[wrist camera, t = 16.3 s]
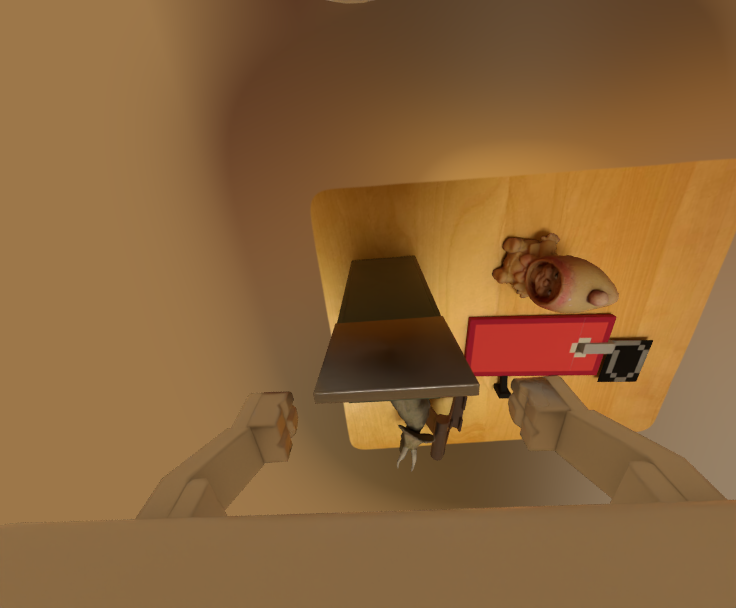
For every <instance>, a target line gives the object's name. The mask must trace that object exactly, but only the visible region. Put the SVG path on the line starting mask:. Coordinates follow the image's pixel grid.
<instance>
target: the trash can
mask: <svg viewBox="0 0 736 608" xmlns="http://www.w3.org/2000/svg"><path fill="white" fill-rule="evenodd" d="M437 316H441V315H440V312H439V310H438V308H437V305H436V303H435V301H434V298H433V296H432V294H431V292H430V289H429V287H428V285H427V282H426V280H425V278H424V275H423V273H422V271H421V269H420V266H419V264H418V262H417V259H416V257H415V256H404V257H392V258H380V259H367V260H355V261H352V262H351V267H350V271H349V275H348V279H347V284H346V288H345V292H344V296H343V301H342V305H341V309H340V313H339V317H338V322H337V323H350V322H365V321H379V320H394V319H408V318H423V317H437ZM437 398H440V397H437ZM418 399H435V398H418ZM399 400H417V399H399ZM380 401H398V400H380ZM362 402H379V401H362ZM349 403H353V402H349ZM354 403H360V402H354Z"/></svg>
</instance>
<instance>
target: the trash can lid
mask: <svg viewBox="0 0 736 608" xmlns="http://www.w3.org/2000/svg"><path fill="white" fill-rule="evenodd" d="M479 385H480V384H479V382H478V381H477V379H476V377H475V375H474V373H473V371H472V369H471V368H470V366H469V364H468V362H467V360H466V358H465V356H464V355H463V353H462V351H461V349H460V347H459V345H458V343H457V342H456V340H455V338H454V336H453V334H452V332H451V330H450V328H449V327H448V325H447V323H446V321H445V319H444V317H443V316H437V317H423V318H408V319H394V320H379V321H365V322H350V323H336V324H335V327H334V330H333V333H332V337H331V340H330V343H329V346H328V349H327V352H326V356H325V359H324V362H323V365H322V368H321V371H320V374H319V377H318V381H317V384H316V387H315V390H314V393H313V395H314V400H315V404H323V403H343V402H362V401H380V400H399V399H418V398H437V397H456V396H475V395H479Z"/></svg>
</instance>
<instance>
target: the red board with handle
mask: <svg viewBox="0 0 736 608" xmlns="http://www.w3.org/2000/svg"><path fill="white" fill-rule="evenodd" d="M615 320H616V316H614V315H613V314H598V315H549V316H501V317H469V322H468V331H467V340H466V349H465V358H466V360H467V362H468V364H469V366H470V368H471V369H472V371H473V373H474V375H475V376H500V383H497V384H494V389H495V391H496V393H497V395H498V397H499V398H509V396H510V395H511V393H510V391H509V390H508V388H507V378H508V376H557V375H597V372H598V369H599V366H600V363H601V360H602V358H603V355H604V354H607V355H606V358H605V361H604V364H603V367H602V370H601V372H600V375H599V378H598V381H597V382H634V381H636V380H637V378H638V376H639V373H640V371H641V368H642V366H643V364H644V361H645V359H646V357H647V354H648V352H649V349H650V347H651V345H652V342H653V340H633V341H611V340H610V339H609V337H610V335H611V332H612V329H613V326H614V323H615ZM576 348H577V349H576Z"/></svg>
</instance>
